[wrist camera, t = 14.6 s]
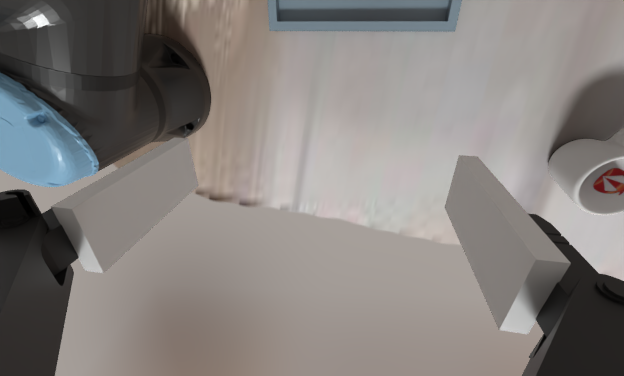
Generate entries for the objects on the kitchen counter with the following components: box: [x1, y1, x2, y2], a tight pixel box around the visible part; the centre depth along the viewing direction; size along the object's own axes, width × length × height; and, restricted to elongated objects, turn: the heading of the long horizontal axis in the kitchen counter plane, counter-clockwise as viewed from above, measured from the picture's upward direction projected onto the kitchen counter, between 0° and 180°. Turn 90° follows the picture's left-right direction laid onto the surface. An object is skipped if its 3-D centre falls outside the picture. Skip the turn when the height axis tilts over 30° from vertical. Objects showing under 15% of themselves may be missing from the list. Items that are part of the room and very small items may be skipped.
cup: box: [548, 128, 624, 215], centre depth 35 cm, size 11×8×8 cm
